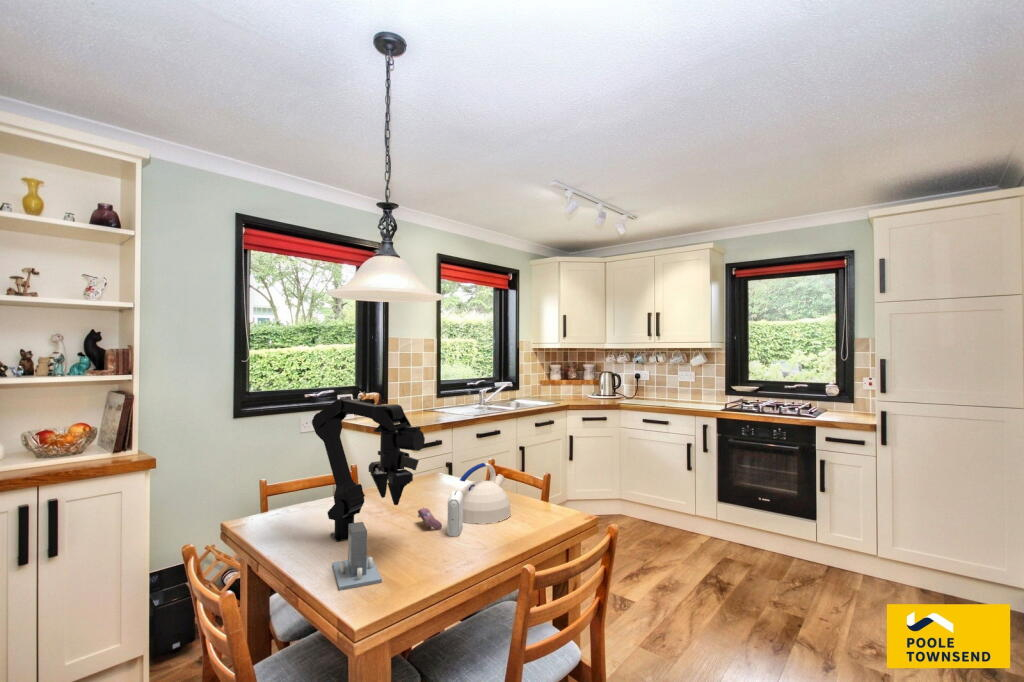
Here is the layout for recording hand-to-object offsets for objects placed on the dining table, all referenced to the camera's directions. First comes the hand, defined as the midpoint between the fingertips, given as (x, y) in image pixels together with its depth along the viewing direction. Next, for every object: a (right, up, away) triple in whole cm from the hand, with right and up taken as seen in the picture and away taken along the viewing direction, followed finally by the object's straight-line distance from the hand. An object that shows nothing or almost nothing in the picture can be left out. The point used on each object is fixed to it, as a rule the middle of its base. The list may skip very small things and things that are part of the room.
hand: (389, 501), depth 143 cm
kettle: (+26, -14, +28) cm, 41 cm away
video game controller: (+9, -14, +16) cm, 23 cm away
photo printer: (+18, -14, +12) cm, 26 cm away
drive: (-4, -12, -18) cm, 22 cm away
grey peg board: (-4, -13, -18) cm, 23 cm away
